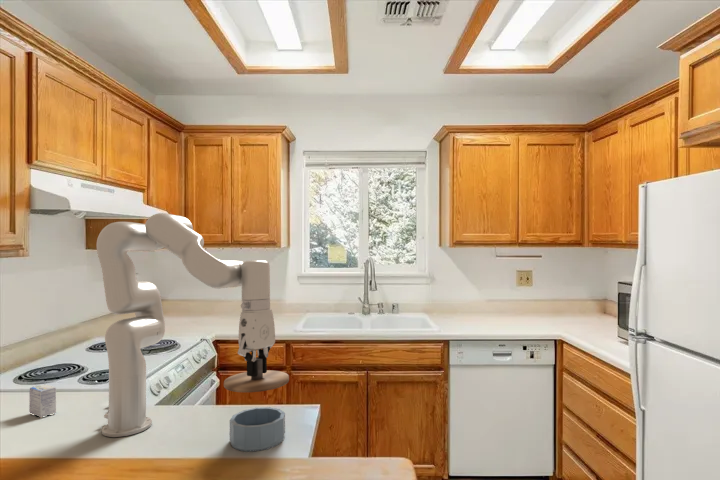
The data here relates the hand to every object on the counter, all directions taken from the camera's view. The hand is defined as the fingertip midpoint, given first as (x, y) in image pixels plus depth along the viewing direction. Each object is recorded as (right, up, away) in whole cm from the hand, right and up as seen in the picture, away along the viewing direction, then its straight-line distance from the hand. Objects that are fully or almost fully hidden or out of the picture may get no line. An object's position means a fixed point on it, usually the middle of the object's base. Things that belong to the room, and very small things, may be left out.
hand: (256, 373), depth 112 cm
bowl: (+1, -17, -1) cm, 17 cm away
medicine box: (-74, -20, +22) cm, 80 cm away
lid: (0, -2, 0) cm, 2 cm away
